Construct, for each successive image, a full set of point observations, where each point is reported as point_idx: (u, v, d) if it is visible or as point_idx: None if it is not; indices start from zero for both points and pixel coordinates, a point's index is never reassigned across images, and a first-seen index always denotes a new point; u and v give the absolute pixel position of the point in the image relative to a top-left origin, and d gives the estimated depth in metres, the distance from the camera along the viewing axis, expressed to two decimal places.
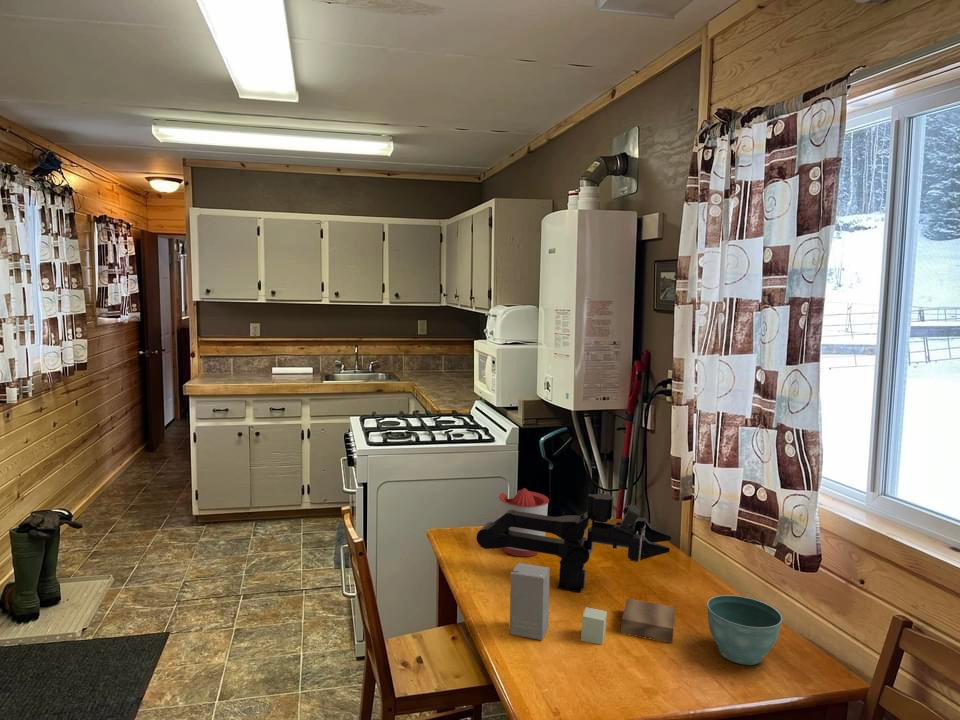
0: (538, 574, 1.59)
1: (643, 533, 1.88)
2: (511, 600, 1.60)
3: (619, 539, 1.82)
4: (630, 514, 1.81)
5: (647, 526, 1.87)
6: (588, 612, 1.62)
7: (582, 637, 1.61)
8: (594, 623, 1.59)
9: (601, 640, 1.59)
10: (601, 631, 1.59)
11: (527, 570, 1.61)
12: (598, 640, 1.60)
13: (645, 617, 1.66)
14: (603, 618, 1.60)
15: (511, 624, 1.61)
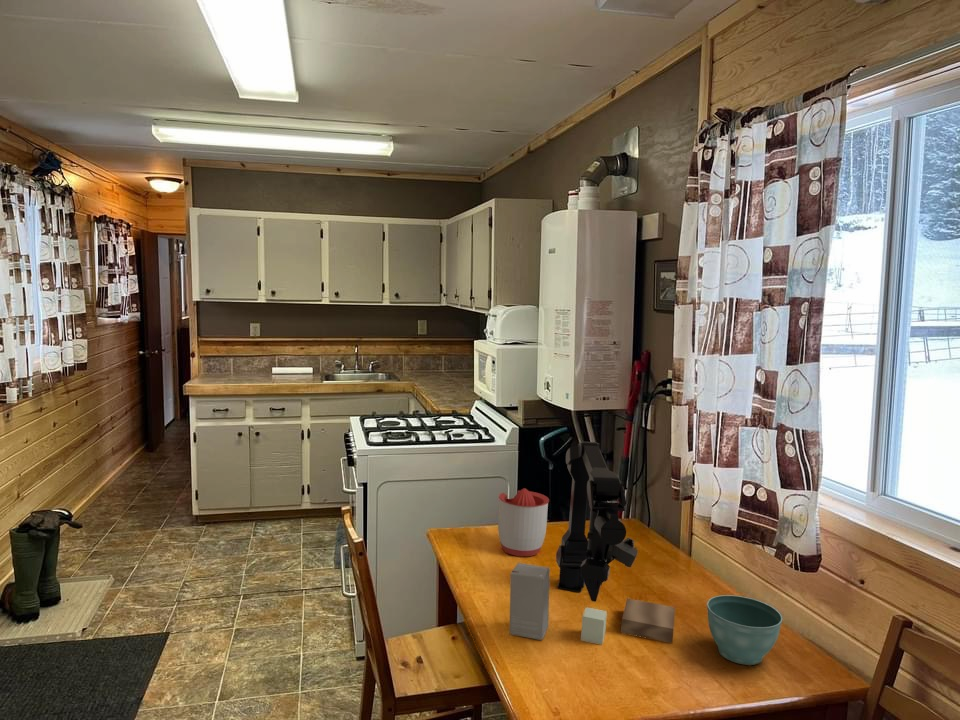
0: (537, 574, 1.59)
1: None
2: (511, 600, 1.60)
3: (598, 543, 1.57)
4: (629, 558, 1.56)
5: (610, 560, 1.65)
6: (588, 612, 1.62)
7: (582, 637, 1.61)
8: (594, 623, 1.60)
9: (601, 640, 1.59)
10: (601, 631, 1.59)
11: (527, 570, 1.61)
12: (598, 640, 1.60)
13: (645, 617, 1.66)
14: (603, 618, 1.60)
15: (511, 624, 1.61)
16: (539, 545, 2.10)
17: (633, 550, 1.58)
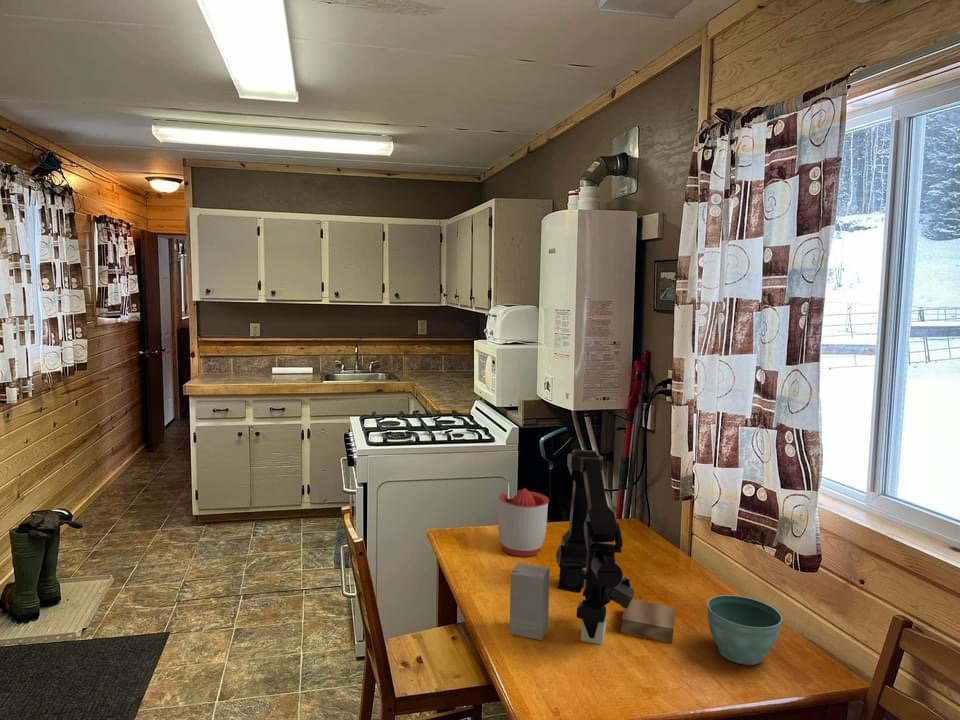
0: (537, 574, 1.59)
1: None
2: (511, 600, 1.60)
3: (595, 584, 1.58)
4: (626, 599, 1.57)
5: (605, 602, 1.64)
6: None
7: (582, 637, 1.61)
8: None
9: (601, 640, 1.59)
10: (601, 631, 1.59)
11: (527, 570, 1.61)
12: (598, 640, 1.60)
13: (645, 617, 1.66)
14: None
15: (511, 624, 1.61)
16: (539, 545, 2.10)
17: (630, 591, 1.59)
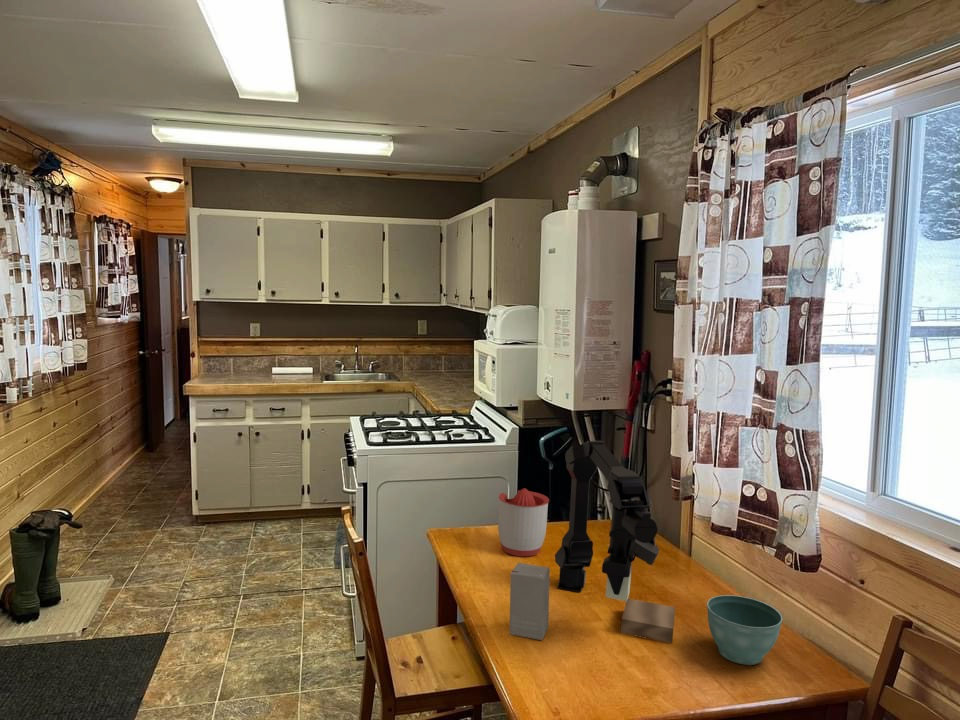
0: (537, 574, 1.59)
1: None
2: (511, 600, 1.60)
3: (620, 541, 1.60)
4: (651, 555, 1.58)
5: (630, 561, 1.66)
6: None
7: (607, 593, 1.62)
8: None
9: (626, 596, 1.61)
10: (626, 587, 1.61)
11: (527, 570, 1.61)
12: (623, 596, 1.61)
13: (645, 617, 1.66)
14: None
15: (511, 624, 1.61)
16: (539, 545, 2.10)
17: (654, 548, 1.61)
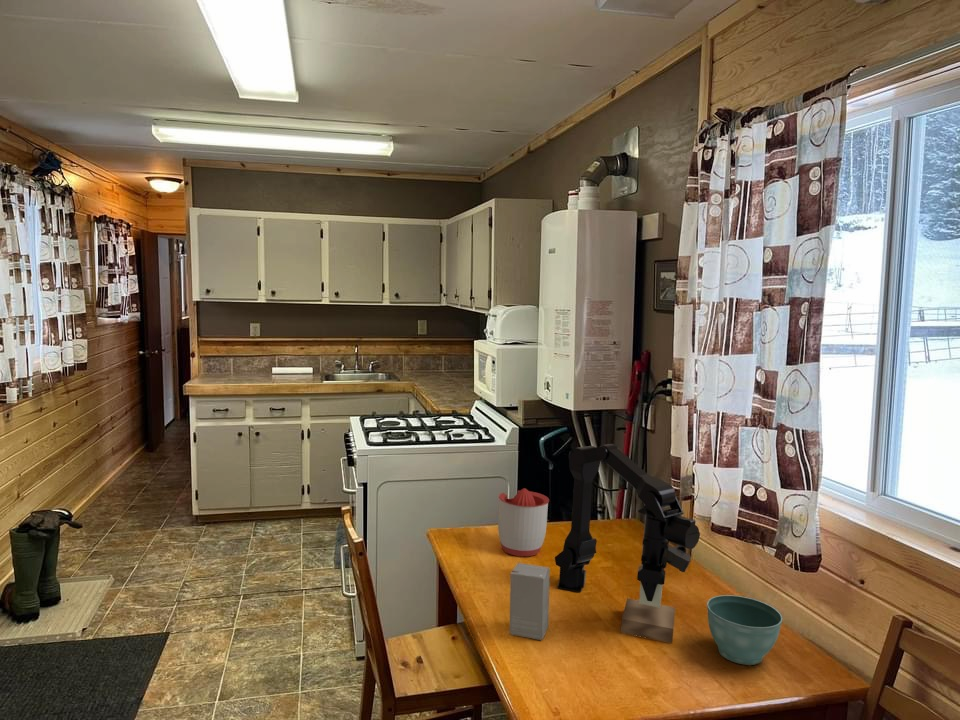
0: (537, 574, 1.59)
1: None
2: (511, 600, 1.60)
3: (653, 549, 1.65)
4: (683, 563, 1.63)
5: (661, 568, 1.70)
6: None
7: (640, 600, 1.67)
8: None
9: (659, 603, 1.66)
10: (659, 594, 1.65)
11: (527, 570, 1.61)
12: (656, 603, 1.66)
13: (645, 617, 1.66)
14: None
15: (511, 624, 1.61)
16: (539, 545, 2.10)
17: (686, 556, 1.66)
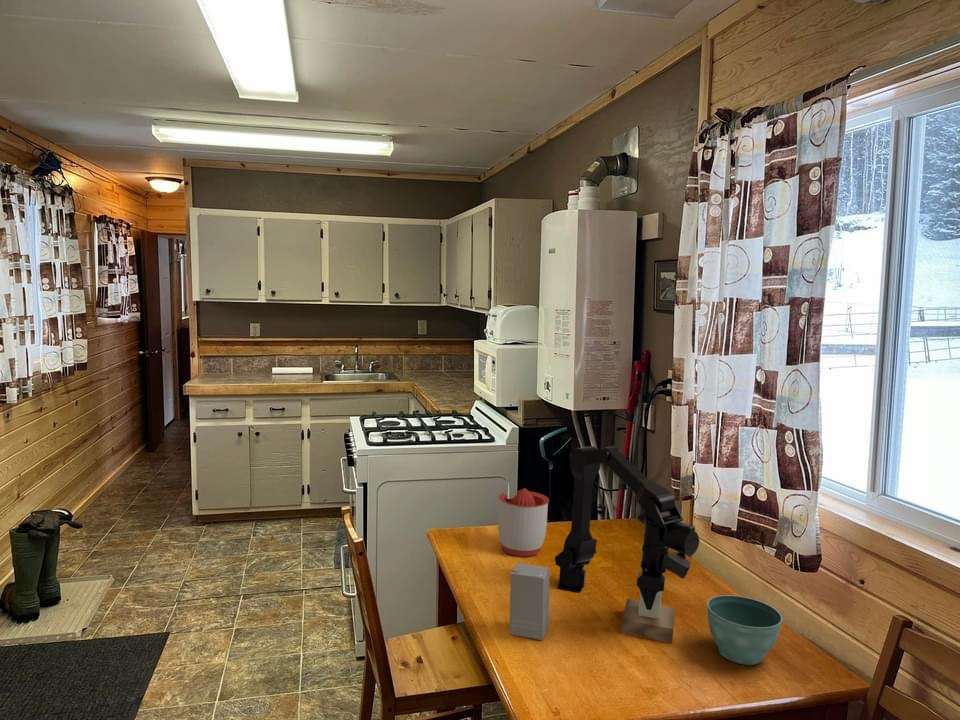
0: (537, 574, 1.59)
1: None
2: (511, 600, 1.60)
3: (653, 555, 1.65)
4: (683, 569, 1.63)
5: (661, 572, 1.72)
6: None
7: (639, 612, 1.67)
8: None
9: (658, 614, 1.66)
10: (658, 605, 1.66)
11: (527, 570, 1.61)
12: (655, 614, 1.66)
13: (645, 617, 1.66)
14: (660, 593, 1.66)
15: (511, 624, 1.61)
16: (539, 545, 2.10)
17: (686, 562, 1.66)
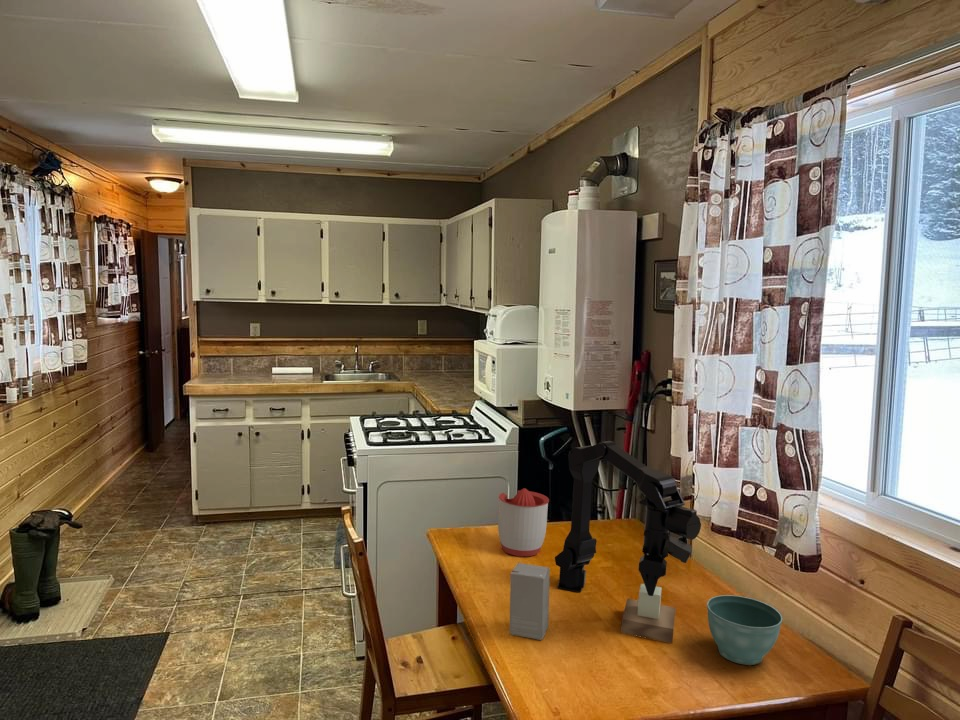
0: (537, 574, 1.59)
1: None
2: (511, 600, 1.60)
3: (654, 540, 1.64)
4: (685, 554, 1.63)
5: (663, 556, 1.72)
6: (643, 588, 1.69)
7: (639, 612, 1.67)
8: (650, 598, 1.66)
9: (657, 614, 1.66)
10: (657, 606, 1.66)
11: (527, 570, 1.61)
12: (654, 614, 1.66)
13: (645, 617, 1.66)
14: (659, 593, 1.66)
15: (511, 624, 1.61)
16: (539, 545, 2.10)
17: (688, 546, 1.65)
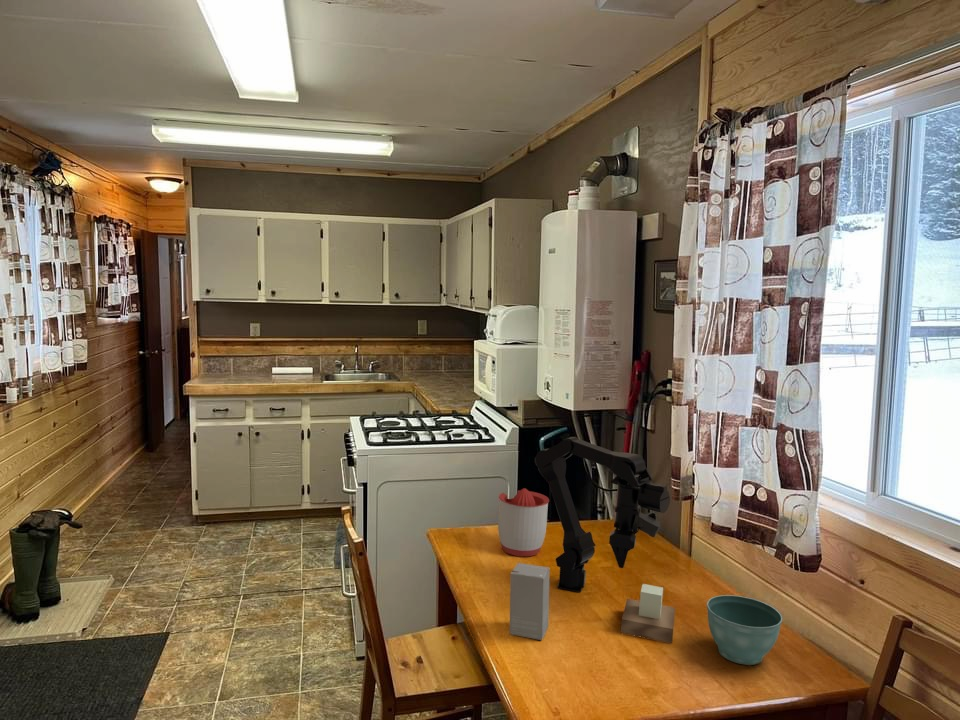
0: (537, 574, 1.59)
1: None
2: (511, 600, 1.60)
3: (625, 515, 1.75)
4: (653, 528, 1.73)
5: (634, 532, 1.82)
6: (645, 588, 1.69)
7: (640, 612, 1.67)
8: (651, 598, 1.66)
9: (659, 614, 1.66)
10: (659, 606, 1.66)
11: (527, 570, 1.61)
12: (656, 614, 1.66)
13: (645, 617, 1.66)
14: (660, 593, 1.66)
15: (511, 624, 1.61)
16: (539, 545, 2.10)
17: (656, 522, 1.76)
